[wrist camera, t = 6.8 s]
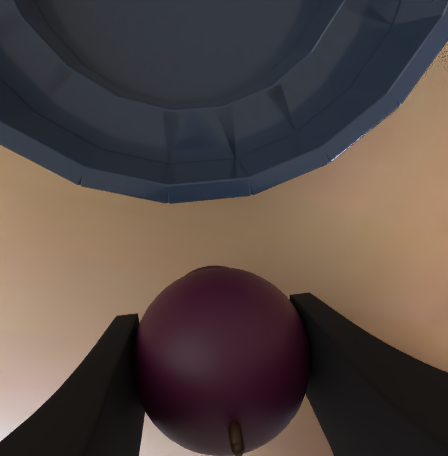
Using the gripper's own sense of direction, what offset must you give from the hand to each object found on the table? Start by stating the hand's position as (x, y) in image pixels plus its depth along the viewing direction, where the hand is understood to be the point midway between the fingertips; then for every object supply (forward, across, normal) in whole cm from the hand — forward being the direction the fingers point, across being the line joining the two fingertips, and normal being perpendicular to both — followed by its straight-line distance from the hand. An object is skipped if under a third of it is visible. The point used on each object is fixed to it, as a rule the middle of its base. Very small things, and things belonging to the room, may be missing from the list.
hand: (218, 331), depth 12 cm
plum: (+1, 0, 0) cm, 1 cm away
